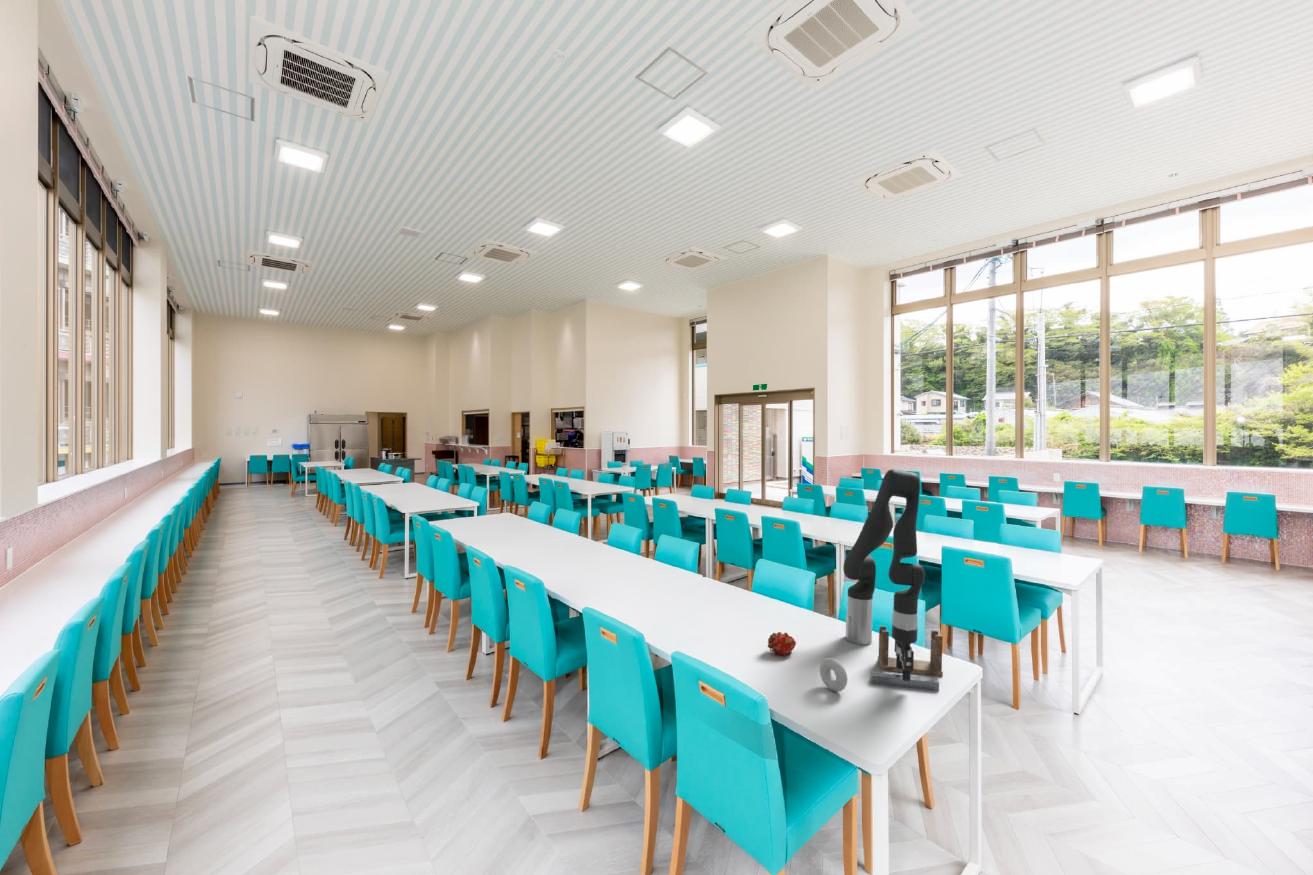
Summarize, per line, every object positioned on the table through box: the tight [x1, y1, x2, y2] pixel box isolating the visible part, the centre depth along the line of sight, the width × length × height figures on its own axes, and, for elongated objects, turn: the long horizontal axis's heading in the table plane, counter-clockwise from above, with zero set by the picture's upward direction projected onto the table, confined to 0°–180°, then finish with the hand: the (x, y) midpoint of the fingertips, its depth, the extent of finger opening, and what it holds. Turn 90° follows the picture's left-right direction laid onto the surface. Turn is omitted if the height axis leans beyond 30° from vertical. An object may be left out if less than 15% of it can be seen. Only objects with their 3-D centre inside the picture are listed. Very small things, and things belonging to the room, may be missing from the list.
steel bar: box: [869, 671, 940, 692], centre depth 173 cm, size 20×3×3 cm, turn 79°
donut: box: [819, 657, 848, 693], centre depth 169 cm, size 10×4×10 cm, turn 30°
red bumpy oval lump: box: [767, 631, 797, 657], centre depth 196 cm, size 8×8×12 cm
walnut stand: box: [877, 625, 944, 677], centre depth 186 cm, size 19×8×13 cm, turn 78°
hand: (903, 674), depth 173 cm, fingers open, 8 cm apart
